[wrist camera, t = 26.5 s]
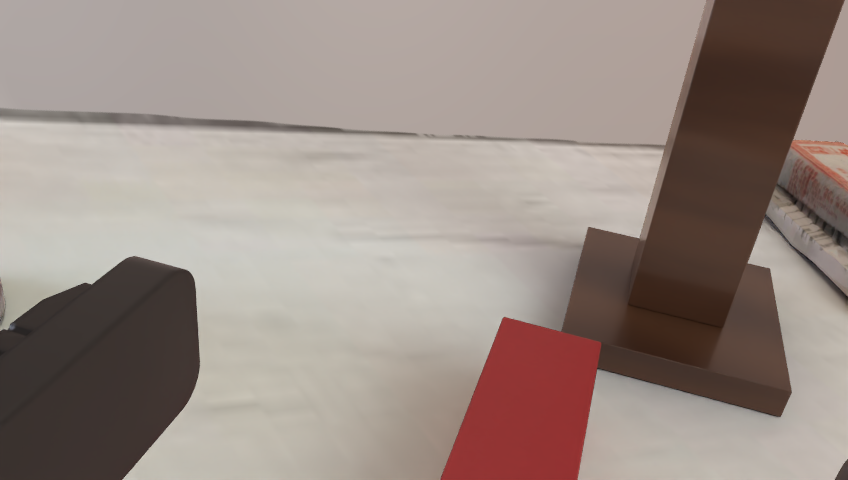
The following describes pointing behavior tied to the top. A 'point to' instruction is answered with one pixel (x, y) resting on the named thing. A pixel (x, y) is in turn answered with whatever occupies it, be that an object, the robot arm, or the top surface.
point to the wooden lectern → (710, 215)
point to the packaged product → (815, 205)
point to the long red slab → (527, 407)
